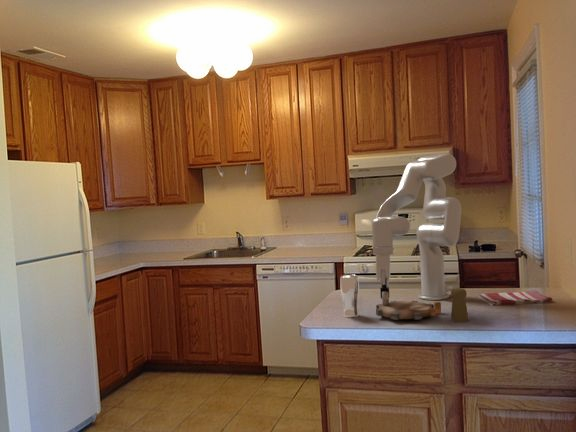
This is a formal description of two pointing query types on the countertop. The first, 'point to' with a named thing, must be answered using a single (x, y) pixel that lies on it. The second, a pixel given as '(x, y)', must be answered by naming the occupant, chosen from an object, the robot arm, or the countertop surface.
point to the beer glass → (350, 295)
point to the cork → (459, 305)
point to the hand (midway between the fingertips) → (385, 298)
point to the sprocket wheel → (403, 309)
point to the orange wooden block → (436, 306)
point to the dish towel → (514, 298)
